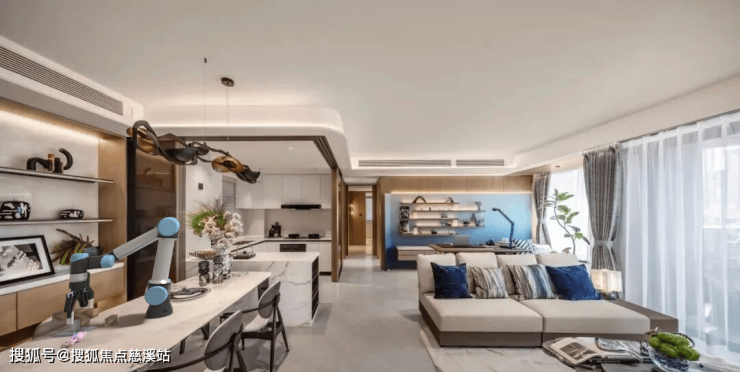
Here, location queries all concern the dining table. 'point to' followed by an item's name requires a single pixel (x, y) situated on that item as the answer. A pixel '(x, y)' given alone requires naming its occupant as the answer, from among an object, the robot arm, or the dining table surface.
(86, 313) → the walnut beam
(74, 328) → the fulcrum
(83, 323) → the board
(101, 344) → the dining table surface
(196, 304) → the dining table surface
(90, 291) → the wine bottle
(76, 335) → the rabbit figure
